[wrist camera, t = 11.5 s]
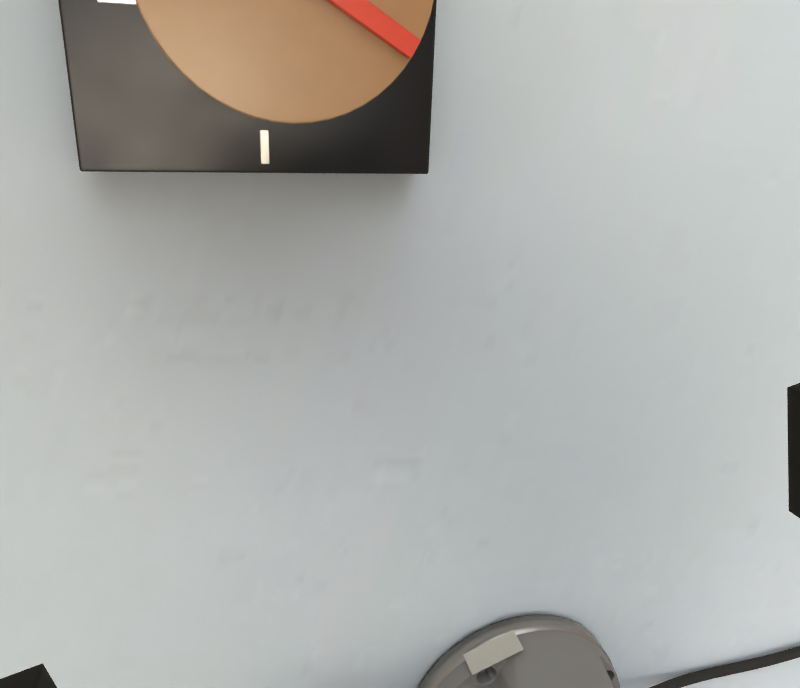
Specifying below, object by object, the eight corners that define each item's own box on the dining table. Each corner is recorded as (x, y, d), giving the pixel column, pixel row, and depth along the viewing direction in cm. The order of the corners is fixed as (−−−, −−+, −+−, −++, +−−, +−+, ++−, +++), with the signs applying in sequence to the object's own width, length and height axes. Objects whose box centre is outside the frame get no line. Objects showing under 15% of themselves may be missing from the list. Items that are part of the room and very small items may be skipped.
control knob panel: (426, -140, 29) (445, -161, 27) (413, 168, 34) (429, 174, 31) (46, -190, 25) (29, -219, 23) (89, 165, 30) (78, 172, 27)
